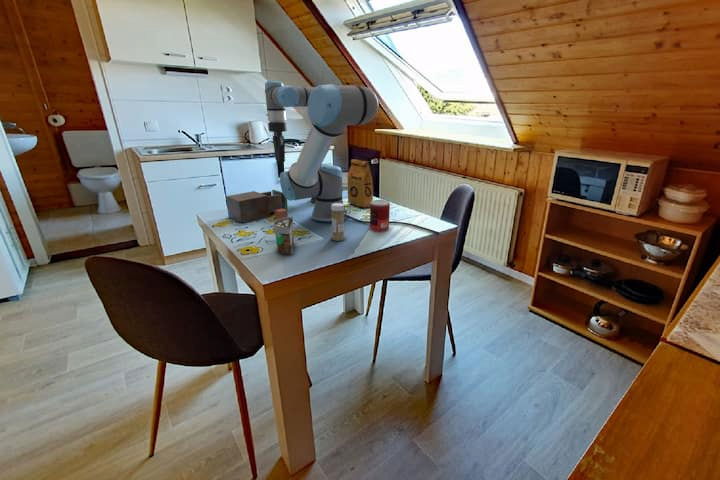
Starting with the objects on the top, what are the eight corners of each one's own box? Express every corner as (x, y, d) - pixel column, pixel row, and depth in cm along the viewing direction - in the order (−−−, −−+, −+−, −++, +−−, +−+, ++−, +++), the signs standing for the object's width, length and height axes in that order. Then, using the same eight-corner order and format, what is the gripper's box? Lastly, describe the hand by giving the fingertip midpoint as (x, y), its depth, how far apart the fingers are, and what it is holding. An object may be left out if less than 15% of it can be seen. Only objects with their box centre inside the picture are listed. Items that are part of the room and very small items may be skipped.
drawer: (285, 203, 172) (284, 187, 169) (298, 207, 165) (297, 191, 162) (252, 210, 160) (250, 194, 157) (264, 215, 153) (262, 198, 150)
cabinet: (256, 211, 162) (254, 191, 158) (269, 216, 154) (267, 195, 151) (228, 217, 153) (225, 196, 149) (241, 223, 145) (238, 201, 142)
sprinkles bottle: (344, 241, 127) (344, 205, 122) (332, 241, 126) (331, 206, 122) (343, 236, 131) (343, 202, 126) (331, 237, 131) (330, 202, 126)
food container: (277, 243, 125) (274, 216, 121) (294, 242, 125) (292, 216, 122) (271, 257, 113) (269, 228, 110) (290, 256, 114) (288, 227, 110)
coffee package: (361, 209, 166) (361, 163, 158) (345, 203, 174) (344, 159, 166) (376, 205, 172) (377, 160, 164) (359, 200, 180) (360, 157, 172)
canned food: (390, 226, 143) (392, 200, 139) (385, 232, 136) (386, 205, 132) (373, 224, 145) (373, 198, 141) (367, 230, 138) (367, 203, 134)
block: (288, 218, 151) (287, 210, 150) (280, 220, 148) (279, 212, 147) (282, 216, 154) (282, 208, 152) (275, 218, 151) (274, 210, 150)
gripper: (265, 121, 150) (270, 175, 158) (271, 122, 139) (276, 180, 147) (282, 121, 153) (286, 174, 161) (289, 122, 142) (293, 179, 150)
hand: (281, 177), depth 154 cm, fingers closed
